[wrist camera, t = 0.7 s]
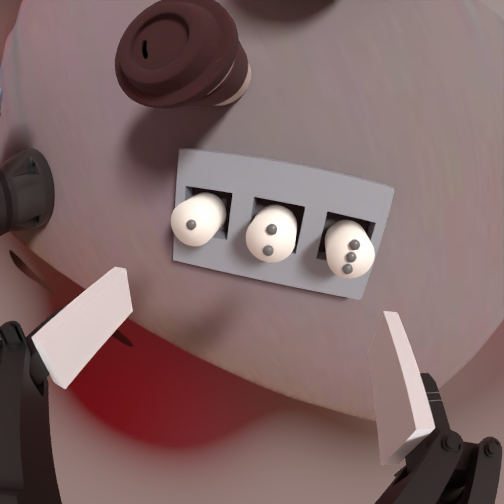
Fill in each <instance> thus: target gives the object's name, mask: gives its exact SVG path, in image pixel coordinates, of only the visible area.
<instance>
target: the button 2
mask: <svg viewBox="0 0 504 504" xmlns="http://www.w3.org/2000/svg"><path fill="white" fill-rule="evenodd" d="M296 234H297V221H296V218H295V216H294V214H293V213H292V212H291V211H290V210H289V209H288V208H286V207H284V206H281V205H268V206H266V207H264V208H262V209H261V210H260V211H259V212H258V213H257V215H256V216H255V218H254V219H253V221H252V222H251V224H250V225H249V227H248V229H247V232H246V244H247V247H248V249H249V250H250V252H251V253H252V254H253V255H254V256H255V257H256V258H258V259H260V260H262V261H265V262H279V261H282V260H284V259H285V258H287V257H288V256H289V255H290V254H291V253H292V251H293V249H294V247H295V241H296Z"/></svg>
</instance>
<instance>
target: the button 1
mask: <svg viewBox="0 0 504 504" xmlns="http://www.w3.org/2000/svg"><path fill="white" fill-rule="evenodd" d="M226 216H227V212H226V207H225V205H224V203H223V201H222V200H221V199H220V198H219V197H218V196H216V195H214V194H212V193H208V192H203V193H199V194H197V195H195V196H193V197H191V198H189V199H188V200H186V201H184V202H182V203H180V204H179V205H178V206H177V207H176V208H175V209H174V211H173V213H172V216H171V227H172V230H173V232H174V234H175V236H176V237H177V238H178V239H179V240H180V241H181V242H183V243H184V244H186V245H189V246H201V245H204V244H205V243H207V242H208V241H209V240H210V239H211V238H212V237H213V236H214V235H215V234H216V232H217V231H218V230H219V229H220V228H221V227H222V226H223V225H224V223H225V221H226Z"/></svg>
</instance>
